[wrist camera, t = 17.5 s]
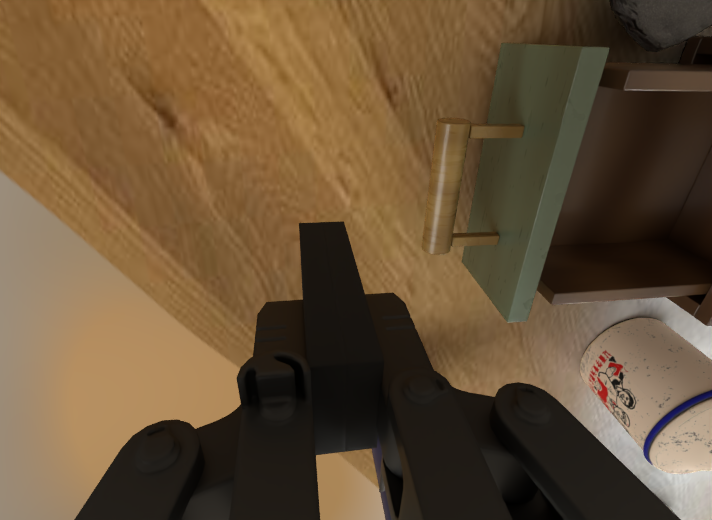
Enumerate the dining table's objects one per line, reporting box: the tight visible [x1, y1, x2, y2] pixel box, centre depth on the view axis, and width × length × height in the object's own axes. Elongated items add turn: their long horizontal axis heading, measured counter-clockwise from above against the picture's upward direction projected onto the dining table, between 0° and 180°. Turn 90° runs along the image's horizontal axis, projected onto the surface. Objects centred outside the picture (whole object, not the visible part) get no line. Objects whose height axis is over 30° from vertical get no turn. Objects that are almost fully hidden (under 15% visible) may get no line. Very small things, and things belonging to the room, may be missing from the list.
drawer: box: [422, 43, 712, 323], centre depth 22 cm, size 20×14×7 cm
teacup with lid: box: [580, 318, 712, 474], centre depth 33 cm, size 12×9×12 cm
